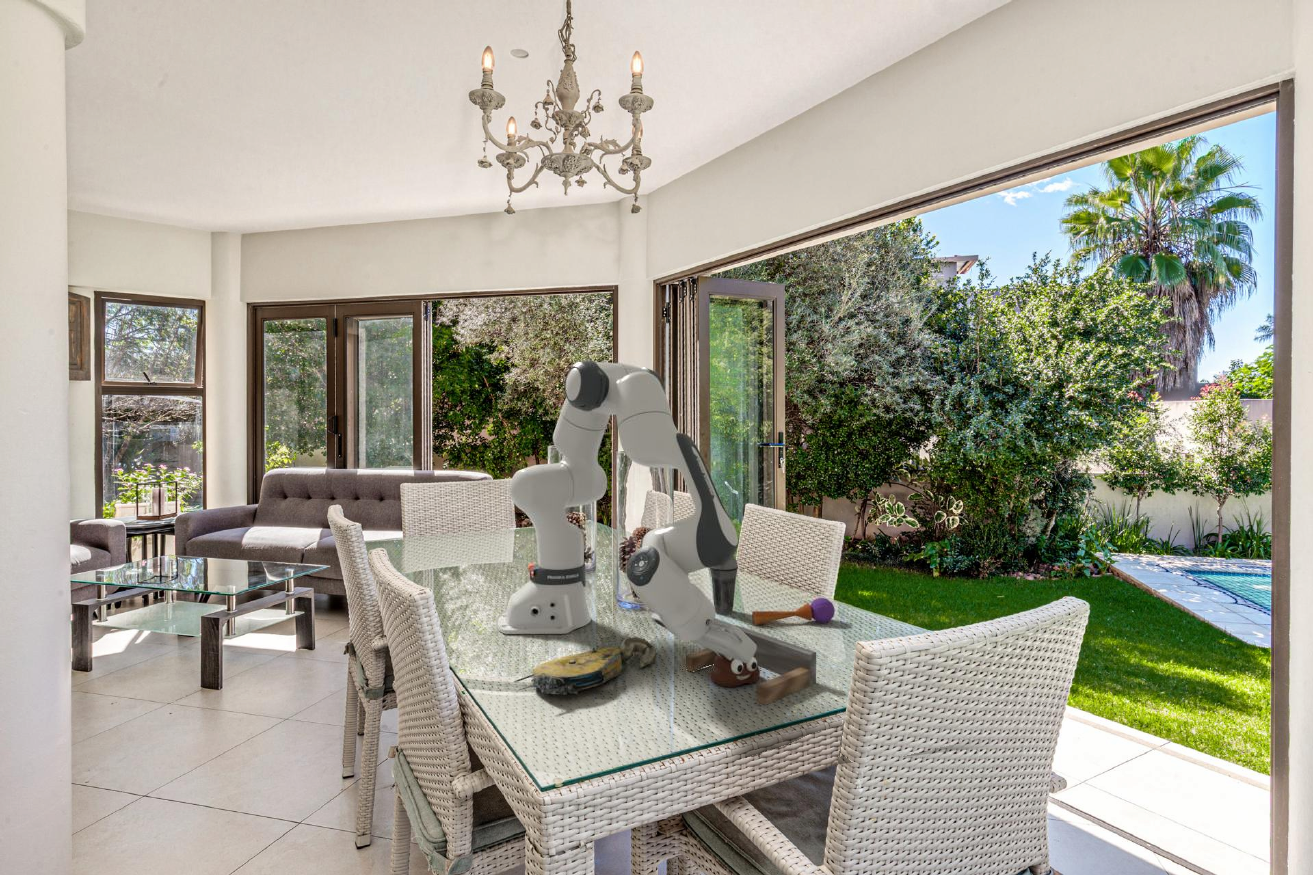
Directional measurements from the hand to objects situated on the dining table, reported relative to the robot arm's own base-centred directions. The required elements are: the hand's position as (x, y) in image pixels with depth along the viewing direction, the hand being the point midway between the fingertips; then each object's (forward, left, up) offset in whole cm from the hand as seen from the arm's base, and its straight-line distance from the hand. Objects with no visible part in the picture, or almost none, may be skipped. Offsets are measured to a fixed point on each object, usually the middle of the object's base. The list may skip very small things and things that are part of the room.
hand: (727, 654), depth 132 cm
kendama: (+27, +32, -6) cm, 42 cm away
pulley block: (-24, +9, -6) cm, 26 cm away
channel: (+5, +3, -6) cm, 9 cm away
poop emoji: (+2, +2, -6) cm, 7 cm away
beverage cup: (+12, +43, -6) cm, 45 cm away
